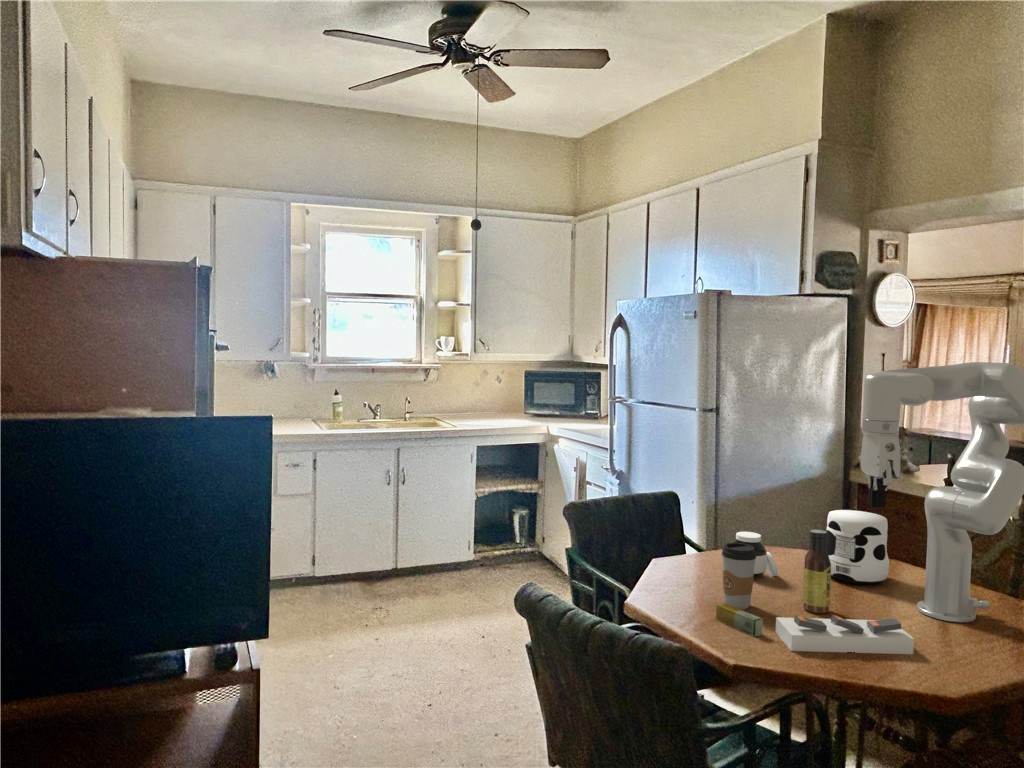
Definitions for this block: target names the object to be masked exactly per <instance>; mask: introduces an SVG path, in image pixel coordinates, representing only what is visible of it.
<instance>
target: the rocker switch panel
mask: <svg viewBox="0 0 1024 768" xmlns="http://www.w3.org/2000/svg"><path fill="white" fill-rule="evenodd" d="M808 618H809V617H808ZM809 619H814V620H819V621H822V622H823V623H824V624H825V625H826V626H827V629H826V631H821V630H816V629H811V628H806V627H801V626H798V625H797V624H796V623H795V622H794V617H775V634H776V635H777V636H778V637H779V638H780V640H781V641H782V642H783V643H784V644H785V646H786V647H787V648H788V649H789V650H790V651H791V652H817V653H820V652H821V653H847V652H852V654H853V652H855V653H854V654H884V655H885V654H888V655H889V654H890V655H892V654H893V655H914V648H915V647H914V646H915V638H914V637H913V636H912V635H910V634H909V633H908V632H906V631H905V630H904V629H903V628H902V629H898V630H891V631H884V632H876V633H873V632H872V631H871V630H870V629H869V628H868V627H867V622H871V621H878V620H879V619H851V618H850V619H849V618H844V619H845V620H848V621H851V622H854V623H856V624H858V625H859V626H861V627H862V628H863V629H864V631H863V633H862V634H859V633H856V632H854V631H851V630H848V629H846V628H843V627H840V626H838V625H836V624H835V623H834V622H832V621H831V620H830V619H831V618H816V617H814V618H809Z"/></svg>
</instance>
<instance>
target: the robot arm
mask: <svg viewBox="0 0 1024 768" xmlns="http://www.w3.org/2000/svg"><path fill="white" fill-rule="evenodd" d="M864 378H865V379H864V384H863V385H864V386H863V408H862V409H863V410H862V426H861V427H862V428H861V433H862V434H863V435H862V436H863V437H862V443H861V452H860V470H861V472H863V473H864V477H865V478H866V479H867V487H868V498H867V499H868V501H867V503H868V504H867V505H868V506H869V507H870V508H882V509H884V508H886V502H887V491H888V486H892V485H893V480H894V479H895V480H898V479H900V477H901V445H900V444H901V443H900V437H899V435H900V434H899V433H900V417H901V414H900V412H901V406H911V407H918V406H923V405H925V404H928V403H929V402H931V401H933V402H934V401H935V402H940V401H941V402H947V401H955V400H961V399H968V398H969V401H968V413H969V419H970V425H971V436H970V439H969V441H968V443H967V445H966V446H965V447H964V449H963V451H962V452H961V454H960V456H959V457H958V459H957V460H956V462H955V464H954V465H953V467H952V468H951V472H950V480H951V482H952V484H953V485H954V486H955V487H954V486H948V485H944V486H943V485H941V486H936V487H933V488H932V489H930V490H929V491H928V492H927V493H926V496H925V498H924V512H925V518H926V526H927V527H926V528H927V543H926V544H927V545H926V561H925V564H926V565H925V579H924V581H925V582H924V600H920V601H918V602H917V603H916V608H917V611H919V612H920V613H921V614H923V615H926V616H927V617H930V618H933V619H938V620H941V621H946V622H951V623H971V622H974V621H975V620H976V618H977V613H976V612H975V611H974V610H977V609H981V610H983V609H984V610H988V609H990V602H989V601H988V600H978V599H977V598H975V597H974V598H973V597H970V593H971V591H970V590H971V576H972V575H971V573H972V559H973V558H972V555H973V544H972V541H971V538H970V536H969V534H968V533H969V532H972V533H977V534H981V535H987V536H988V535H990V536H992V535H995V534H998V533H999V532H1001V530H1002V529H1003V528H1004V527H1005V525H1006V524H1007V523H1008V521H1009V519H1010V517H1011V516H1012V514H1013V513H1014V511H1015V509H1016V508H1017V506H1018V505H1019V502H1020V501H1021V500H1022V498H1023V495H1024V465H1022V463H1020V462H1019V461H1017V460H1013V459H1010V458H1006V456H1007V455H1008V452H1009V450H1010V444H1009V440H1008V438H1007V436H1006V435H1005V433H1004V431H1003V430H1002V427H1001V425H1010V426H1019V427H1024V371H1023V370H1022V368H1020V367H1019V366H1018V365H1015V364H1013V363H1009V362H986V361H972V362H964V363H956V364H955V363H954V364H947V365H933V366H926V367H925V366H924V367H917V368H916V367H915V368H914V367H913V368H901V369H900V368H899V369H898V368H897V369H890V370H889V369H888V370H881V371H877V372H876V373H869V374H867V375H866V376H865V377H864ZM1000 424H1001V425H1000Z"/></svg>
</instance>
